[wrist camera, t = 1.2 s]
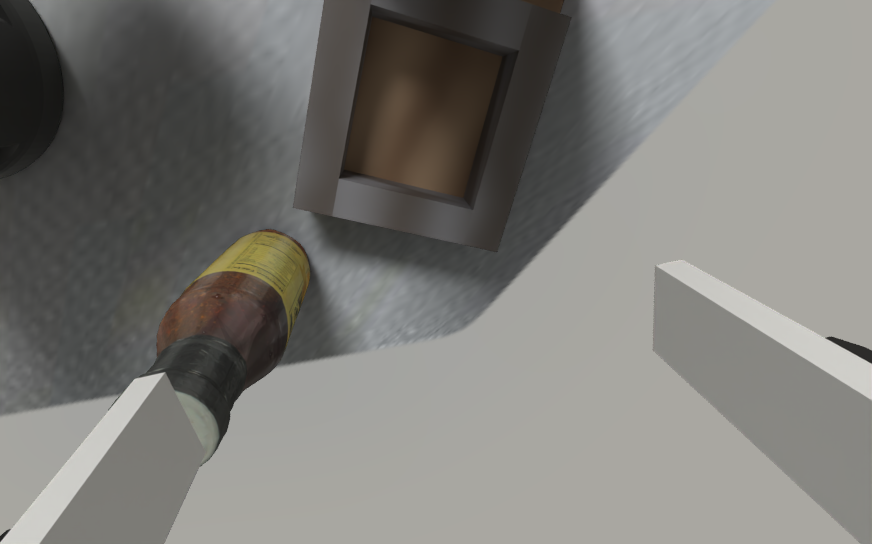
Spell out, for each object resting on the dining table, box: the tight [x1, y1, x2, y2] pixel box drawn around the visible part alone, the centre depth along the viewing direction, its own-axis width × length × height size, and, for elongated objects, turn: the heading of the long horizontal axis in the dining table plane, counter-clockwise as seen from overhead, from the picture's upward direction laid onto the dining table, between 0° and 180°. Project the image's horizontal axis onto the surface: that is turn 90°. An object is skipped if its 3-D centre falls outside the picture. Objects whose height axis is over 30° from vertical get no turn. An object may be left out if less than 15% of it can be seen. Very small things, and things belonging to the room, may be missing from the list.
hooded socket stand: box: [293, 0, 571, 252], centre depth 18 cm, size 15×20×28 cm
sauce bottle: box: [108, 229, 310, 467], centre depth 26 cm, size 7×6×20 cm
